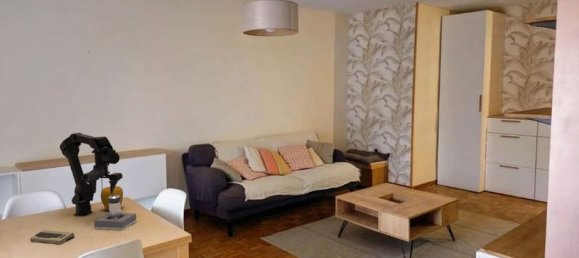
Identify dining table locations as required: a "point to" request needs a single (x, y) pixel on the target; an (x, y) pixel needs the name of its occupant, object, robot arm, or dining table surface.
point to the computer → (52, 237)
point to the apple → (106, 193)
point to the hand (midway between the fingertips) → (103, 193)
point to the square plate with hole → (115, 222)
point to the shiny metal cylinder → (114, 207)
